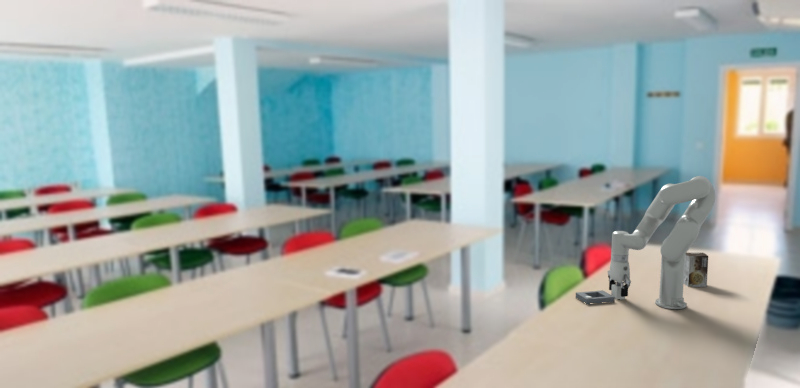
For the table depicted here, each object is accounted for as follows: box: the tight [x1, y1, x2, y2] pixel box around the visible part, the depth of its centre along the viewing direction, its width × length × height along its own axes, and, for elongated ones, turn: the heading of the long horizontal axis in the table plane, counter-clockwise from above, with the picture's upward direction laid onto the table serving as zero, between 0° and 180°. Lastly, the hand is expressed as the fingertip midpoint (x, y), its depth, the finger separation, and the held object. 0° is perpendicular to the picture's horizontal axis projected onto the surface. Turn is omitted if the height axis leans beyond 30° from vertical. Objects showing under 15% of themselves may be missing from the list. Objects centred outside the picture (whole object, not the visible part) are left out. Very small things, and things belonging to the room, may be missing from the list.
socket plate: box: [575, 289, 616, 305], centre depth 265 cm, size 10×14×3 cm
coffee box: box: [684, 252, 709, 288], centre depth 284 cm, size 9×6×16 cm
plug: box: [610, 281, 626, 300], centre depth 267 cm, size 4×4×8 cm
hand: (618, 293), depth 267 cm, fingers open, 9 cm apart
